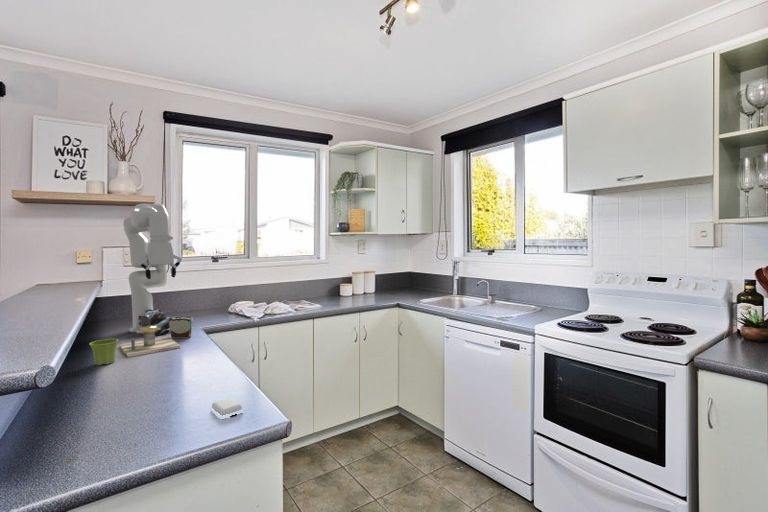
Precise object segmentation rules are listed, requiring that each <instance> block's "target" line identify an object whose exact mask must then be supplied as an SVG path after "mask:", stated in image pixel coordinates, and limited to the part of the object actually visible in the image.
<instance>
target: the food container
mask: <svg viewBox="0 0 768 512" xmlns="http://www.w3.org/2000/svg"><path fill="white" fill-rule="evenodd" d="M168 317H169V318H168V322H169V326H170V328H169V332H170V338H171V339H191V337H192V329H193V328H192V325H193V322H194V318H193V316H192V315H187V314H186V315H175V316H174V315H173V316H168Z"/></svg>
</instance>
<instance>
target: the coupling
mask: <svg viewBox="0 0 768 512" xmlns="http://www.w3.org/2000/svg"><path fill="white" fill-rule="evenodd" d="M157 330H161V328H160V327H158V328H157V326H155V325H151V326H149V315H142V316H141V330H137V332H136V333H137V334H143V333H152V332H156V331H157Z"/></svg>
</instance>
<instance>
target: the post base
mask: <svg viewBox="0 0 768 512" xmlns="http://www.w3.org/2000/svg"><path fill="white" fill-rule="evenodd" d="M142 334H143V340H140V341H135V337H133V338H130V339H131V340H130V342H128V343H122V344H121V343H120V344H119V348H120V350H121V349H122V350H121V351H122V352H123V354H124V355H125V354H126V355H125V356H126V357H127V358H131V357H137V356H142V355H148V354H154V353H158V352H159V351H160V352H163V351H164V352H165V351H171V350H176V349H175V348H177V349H181V345H180V344H179V343H178V342H177V341H175V340H174V339H173V338H171V336H170V337H169V336H166V337H160V338H156V335H155V332H152V333H142ZM170 349H171V350H170Z"/></svg>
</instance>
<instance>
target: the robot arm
mask: <svg viewBox="0 0 768 512" xmlns="http://www.w3.org/2000/svg"><path fill="white" fill-rule="evenodd" d="M169 224H170V218H169V214H168V212H167V209H166V207H165V205H163V204H161V203H139V204H136V205H134V207H133V209H132V210H131V212H130V216H128V217H126V218H124V220H123V230H124V233H125V235H126V237H127V239H128V242H129V254H130V255H129V256H130V263H131V266H132V267H133V268H134V269H143V270H135V271H132V272H131V273H129V276H128V283H129V288H130V293H131V294H130V296H131V311H132V327H130V328H129V332H130V333H137V330H141V327H140V325H139V324H138V318H139V317H138V316H140V315H141V316H142V315H144V314H145V313H146V312H148V311H149V310H150V309H151V310H154V299H153V295H152V293H151V292H150V291H148V289H153V288H162V287H164V286H166V285H167V275H168V274H167V265H170V267H171V268H170V274H171V278H175V277H176V275H177V268H178V267H179V265H180V264H181V263H182V261H183V258H181V257H179V256H178V255H175V254H174V250H173V245H172V242H170V241H171V240H173V239H174V237H173V236H172V235H170V227H169V226H170V225H169ZM144 233H145V234H149V240H148V238H146V236H145V235H144ZM175 259H176V260H177V261H176V262H174V261H175ZM151 268H155V269H151Z"/></svg>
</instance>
